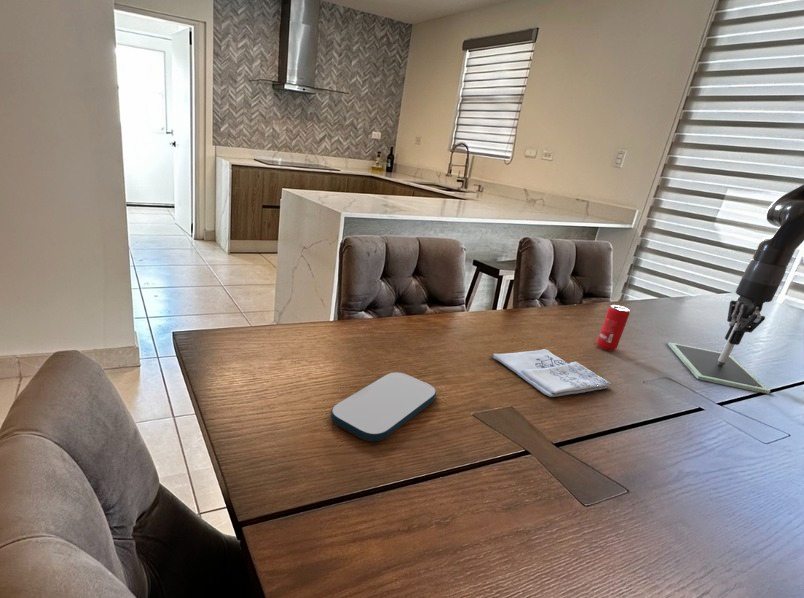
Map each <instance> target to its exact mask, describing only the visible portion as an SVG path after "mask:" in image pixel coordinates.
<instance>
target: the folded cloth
mask: <svg viewBox="0 0 804 598" xmlns="http://www.w3.org/2000/svg"><path fill="white" fill-rule="evenodd" d="M492 358H493V359H494V360H496V361H498V362H499V363H500V364H502V365H504V366H505V367H507V369H509V370H511V371H512V372H514V373H515V374H517V376H519V377H520V378H522V379H523V380H524V381H525V382H527V383H528V384H530V385H531V386H533V388H535V389H537V390H538V391H539V392H541V393H542V394H543V395H545V396H546V397H547V396H548V397H549V398H555V397H561V396H569V395H577V394H583V393H587V392H593V391H599V390H604V389H605V390H606V389H608V388H609V386H611V385H612V383H611V382H610V381H609V380H607V379H605V378H603V377H602V376H599V375H598V374H596V373H595V372H594V371H592V370H590V369H589V368H587V367H585V365H582V364H581V363H580V362H578V361H570V362H568V361H565V360H564V359H562V358H561V357H559V356H557V355H555V354H554V353H552V352H551V351H550V350H548V349H545V348H543V349H538V350H537V349H536V350H528V351H519V352H518V351H517V352H508V353H507V352H506V353H495V352H494V353H493V354H492Z"/></svg>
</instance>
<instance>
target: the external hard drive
mask: <svg viewBox="0 0 804 598" xmlns="http://www.w3.org/2000/svg"><path fill="white" fill-rule="evenodd" d="M436 396H437V390H436V388H435V387H434V386H433V385H431V384H429V383H427V382H425V381H423V380H421V379H419V378H416V377H414V376H412V375H409V374H407V373H403V372H400V371H395V372H389V373H387V374H385V375H383V376H381V377H380V378H378V379H376V380H375V381H373V382H371V383H369V384H368V385H365V386H364V387H363V388H361V389H359V390H357V391H356V392H354V393H352V394H351V395H349V396H347V397H345V398H344V399H342V400H341V401H339V402H337V403H336V404H335V405H333V407H332V408H331V411H330V419H331V421H332V423H333V424H335V425H336V426H337V427H339V428H340V429H341V428H342V429H343V430H345V431H346V432H348V433H351V434H352V435H353V436H356V437H358V438H359V439H361V440H363V441H366V442H371V443H373V442H380V441H383V440H385V439H387V438H388V437H389V436H391V435H393V433H394V432H396V431H397V430H399V429H400V428H401V427H402V426H404V425H405V424H406V423H408V422H409V421H410V420H411V419H413V418H414V417H415V416H417V415H418V414H420V413H421V412H422V411H424V410H425V408H427V407H429V406H430V405H431V404H432V403H433V402H434V401H435V399H436Z"/></svg>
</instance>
